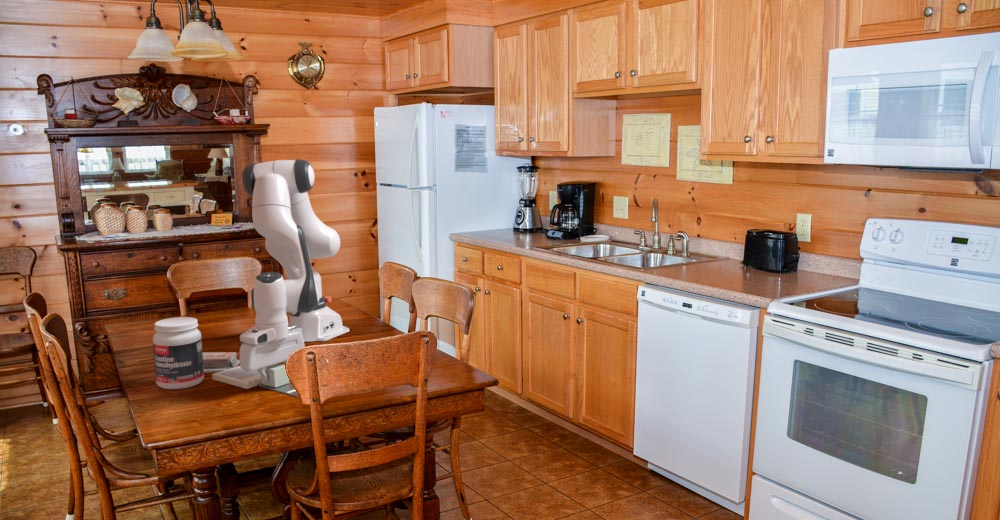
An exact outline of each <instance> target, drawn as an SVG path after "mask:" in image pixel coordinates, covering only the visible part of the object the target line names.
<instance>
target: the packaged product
mask: <svg viewBox="0 0 1000 520" xmlns="http://www.w3.org/2000/svg"><path fill="white" fill-rule="evenodd" d="M202 354H203V368H204V374H205V373H218V372H221V371H225V370H228V369H231V368H235V367H238V366H239V365H240V358H239V359H238V353H237V352H234V351H228V352H227V351H226V352H225V351H223V352H221V351H217V352H212V351H211V352H210V351H209V352H208V351H207V352H205V351H204V352H203V351H202Z"/></svg>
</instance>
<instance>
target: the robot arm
mask: <svg viewBox="0 0 1000 520" xmlns="http://www.w3.org/2000/svg"><path fill="white" fill-rule="evenodd" d="M315 178H316V177H315V171H314V168H313V166H312V164H311V163H310V162H309V161H308V160H305V159H301V158H300V159H299V158H298V159H278V160H277V159H276V160H271V161H265V162H259V163H258V162H255V163H250V164H247V165H245V167H243V169H242V172H241V185H242V188H243V190H244V193H246V194H247V195H249V196H250V197H252V203H251V204H252V205H251V208H252V209H251V213H252V223H253V227H254V229H255V231H256V232H257V233H258V234H259V235H260V236H262V237H264V238H265V240H264V241H265V242H264V244H265V249H266V251H267V252H268V255H270V256H271V257H272V258H273V259H275V260H276V261H277V262H278V263H279V265H281V267H282V268H283V270H284V272H285V275H286V279H284V276H283V275H282V274H281V273H279V272H275V271H267V272H263V273H260V274H258V275H257V276H255V278H254V283H253V284H254V286H253V288H252V289H251V291H250V293H251V294H250V297H251V307H252V309H254V311H255V318H254V323H255V324H254V325H253V326H252V327H250V328H249V329H247V330H246V331H245V332H243V333H241V334H240V336H239V340H240V342H241V345H240V347H239V361H240V363H239V366H240V367H241V368H242V369H243V370H245V371H249V372H250V371H254V370H257V371H258V372H259V373H260V375H261V378H262V382H267V381H270V375H267V374H266V373H265V370H266V367H267V366H270V365H273V364H276V363H279V364H281V363H282V364H283V365H285V364H286V361H287V359H288V357H289V355H290V354H291V353H293V352H294V351H296V350H298V349H300V348H304V347H305V348H306V346H305V345H306V344H305V342H307V343H308V342H326V341H329V340H331V339H334V338H337V337H338V336H341V335H344V334H346V333H349V332H350V327H348V326H345V325H343V320H342V317H341V315H340V314H339V313H338V312H336V311H335V310H333V309H331V308H330V307H328V305H327V303H331V302H332V301H333V300H332V297H331V296H325V297H324V296H323V290H322V289H323V288H322V277H321V275H320V273H319V272H318V271H317V270H316V269H313V266H312V261H311V259H313V260H319V259H321V260H322V259H326V258H332V257H335V256H336V255H338V252H339V250H340V248H341V237H340V235H339V233H338V232H337V230H335V229H333V228H332V227H330V226H328V225H327V224H325V223H324V222H323V221H322V220H320V218H319V217H318V216H317V214H315V211H314V209H313V207H312V205H311V204H312V203H311V201H310V197H309V193H308V192H310V191H311V189H313V187H314V184H315ZM287 313H289V317H288V315H287Z"/></svg>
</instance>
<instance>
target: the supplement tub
mask: <svg viewBox="0 0 1000 520" xmlns="http://www.w3.org/2000/svg"><path fill="white" fill-rule="evenodd" d="M198 321H199V320H198V319H197V318H195V317H191V316H178V317H176V316H175V317H170V318H164V319H161V320H158V321H156V322H155V323H154V331H156V332H155V333H154V334H153V336H152V347H153V348H152V349H153V359H154V372H155V384H156V385H157V386H158V387H159V388H161V389H165V390H184V389H187V388H188V389H189V388H192V387H194V386H197V385H199V384H200V383H202V382H203V380H204V378H205V373H204V368H203V354H202V352H203V342H202V341H203V340H202V339H203V338H202V333H201V330H199V329H198V327H199V323H198Z"/></svg>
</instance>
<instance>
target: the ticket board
mask: <svg viewBox="0 0 1000 520" xmlns="http://www.w3.org/2000/svg"><path fill="white" fill-rule="evenodd" d="M211 376H212V377H211V380H213V381H218V382H222V383H224V384H228V385H232V386H235V387H238V388H239V387H240V388H243V389H246V390H248V389H251V388H254V387H260V388H264V389H267V390H270V391H274V392H277V393H282V394H285V395H289V396H293V397H295V398H296V397H297V398H298V397H299V396H298V394H297V392H296V390H295V388H294V387H293V385H292V384H291V383H292V382H290V381H289V383H287V384H284V385H281V386H279V387H276V388H275V387H271V386H267V385H264V384H261V375H260V373H259V372H258V371H257V370H254V371H250V372H249V371H245V370H243V369H242V368H241V367H240V365H237V366H236V367H235V368H231V369H228V370H225V371H221V372H213V373H211Z"/></svg>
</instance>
